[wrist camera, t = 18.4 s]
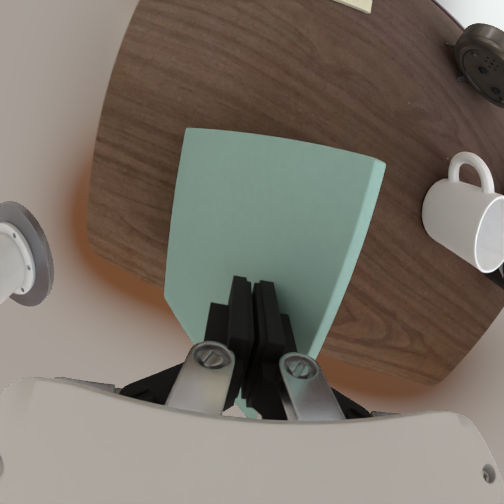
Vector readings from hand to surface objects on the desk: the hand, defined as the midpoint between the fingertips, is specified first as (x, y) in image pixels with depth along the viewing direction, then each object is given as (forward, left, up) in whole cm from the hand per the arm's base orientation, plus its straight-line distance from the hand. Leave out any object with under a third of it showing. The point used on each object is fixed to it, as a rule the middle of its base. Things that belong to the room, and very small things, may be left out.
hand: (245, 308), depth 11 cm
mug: (+24, +8, -18) cm, 31 cm away
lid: (-1, 0, -5) cm, 5 cm away
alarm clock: (+24, +26, -18) cm, 39 cm away
